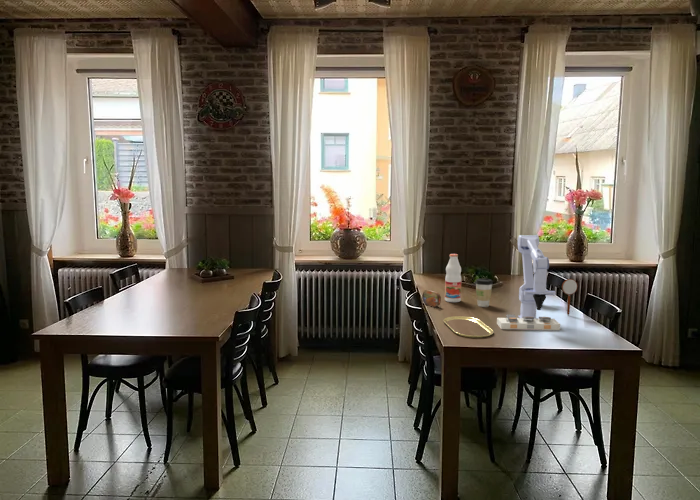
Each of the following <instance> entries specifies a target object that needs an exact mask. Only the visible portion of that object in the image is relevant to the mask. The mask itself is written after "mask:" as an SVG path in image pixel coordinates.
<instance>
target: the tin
mask: <svg viewBox="0 0 700 500" xmlns="http://www.w3.org/2000/svg"><path fill="white" fill-rule="evenodd" d="M421 298H422V302H423V303H424V305H426V306H430V307H433V308H434V307H439V306H440V305H441V300H442V297H441V294H440V293H439V292H437V291H433V290H430V289H425V290H423V292H422V297H421Z"/></svg>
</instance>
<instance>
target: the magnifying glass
mask: <svg viewBox="0 0 700 500" xmlns="http://www.w3.org/2000/svg"><path fill="white" fill-rule="evenodd" d="M578 287H579V285H578V281H576V280H575V279H574V278H567V279H565V280H564V281H563V282H562V284H561V290H562V292H563V293H564V294H565V295H567V308H566V309H567V310H566V315H567V317H568V316H570V313H571V312H570V311H571V295H574V294H575V293H576V292H577V291H578Z"/></svg>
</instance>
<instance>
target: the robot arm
mask: <svg viewBox="0 0 700 500" xmlns="http://www.w3.org/2000/svg"><path fill="white" fill-rule="evenodd" d="M539 245H540V237H539V235H537V234H532V235H531V234H529V235H527V234H524V235H523V234H519V235H518V236H517V249H518V251H517V252H518V253H520V254H521V259H522V268H523V269H522V271H523V279H524V281H523V284H522V285H521V286H520V287H519V288H518V300H519V301H520V309H519V314H520V315H517V318H522V317H534V318H537V311H541V310H542V306H543V304H544V302H545V301H546V299H547V296H555V297H556V290H547V277H548V275H547V274H548V270H549V268H550V259H549V257H548V256H545V255H544V253H543V252H544V251H542V249H541V248H539ZM533 274H534V280H533Z"/></svg>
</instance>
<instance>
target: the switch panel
mask: <svg viewBox="0 0 700 500" xmlns="http://www.w3.org/2000/svg"><path fill="white" fill-rule="evenodd" d="M516 318H517V321H509V320H508V319H507V317H497V318H496V325H498V327H499V328H500V330H532V331H533V330H535V331H536V330H538V331H561V323H560V322H558V321H557V320H556V319H555V318H551V320H544V319H539V317H538V318H537V317H536V318H534V319H523V318H519V317H516Z"/></svg>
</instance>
